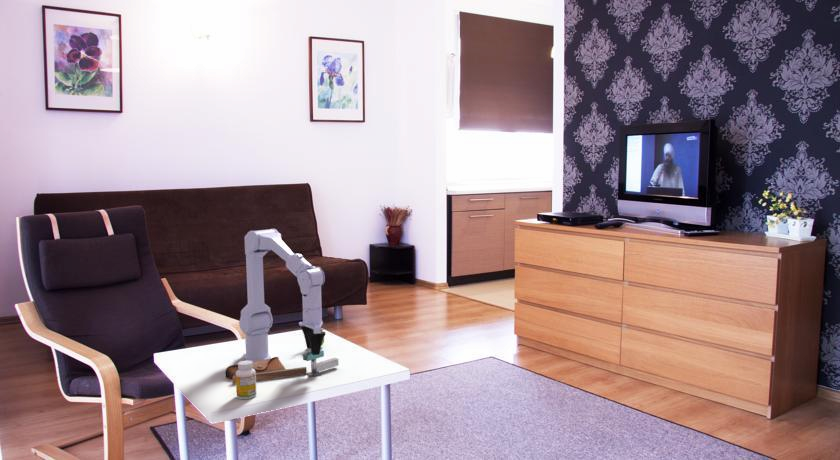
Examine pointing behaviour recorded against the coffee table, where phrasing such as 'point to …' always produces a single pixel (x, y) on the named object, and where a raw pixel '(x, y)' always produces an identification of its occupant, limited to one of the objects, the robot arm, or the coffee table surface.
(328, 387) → the coffee table surface
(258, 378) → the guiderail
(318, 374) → the lock plate
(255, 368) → the sunglasses case
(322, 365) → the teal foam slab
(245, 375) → the supplement bottle
